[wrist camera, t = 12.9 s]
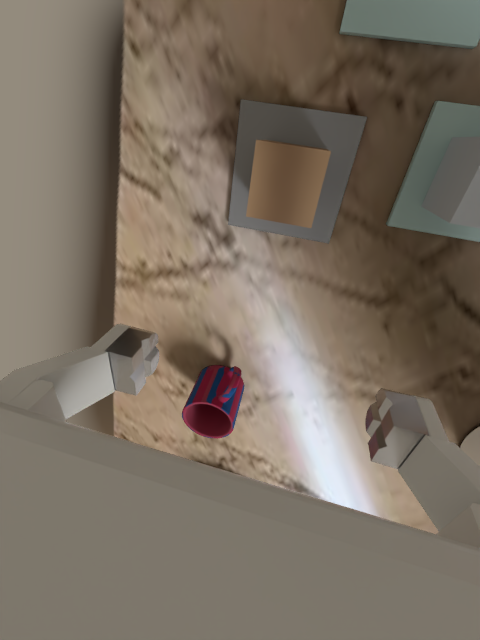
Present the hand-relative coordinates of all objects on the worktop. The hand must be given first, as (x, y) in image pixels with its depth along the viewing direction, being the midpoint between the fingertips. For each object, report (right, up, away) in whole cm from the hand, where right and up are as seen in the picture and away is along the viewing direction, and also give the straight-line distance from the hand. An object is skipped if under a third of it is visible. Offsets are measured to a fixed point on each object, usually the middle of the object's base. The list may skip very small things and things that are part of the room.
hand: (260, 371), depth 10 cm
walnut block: (+4, +14, +15) cm, 21 cm away
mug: (-2, -6, +30) cm, 31 cm away
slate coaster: (+4, +15, +15) cm, 22 cm away
